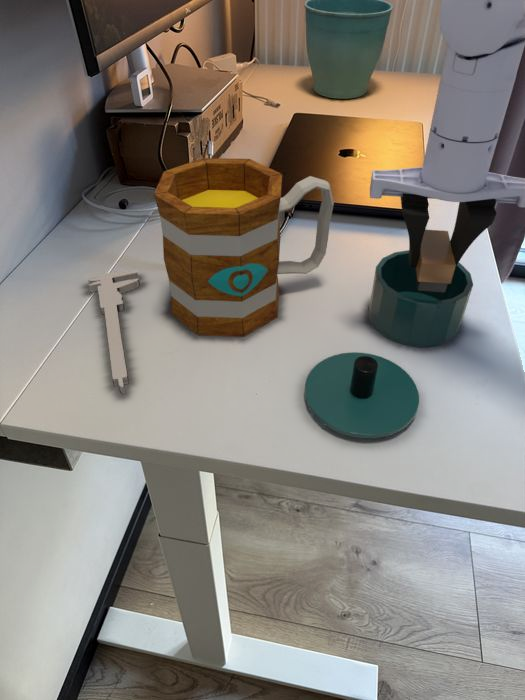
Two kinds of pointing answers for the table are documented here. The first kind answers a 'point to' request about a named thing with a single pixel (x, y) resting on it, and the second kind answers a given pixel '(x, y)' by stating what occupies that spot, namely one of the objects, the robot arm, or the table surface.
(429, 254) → the tall bronze cuboid
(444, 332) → the pot
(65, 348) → the table surface
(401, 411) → the pot lid
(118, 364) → the caliper
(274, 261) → the mug
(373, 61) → the flower pot
